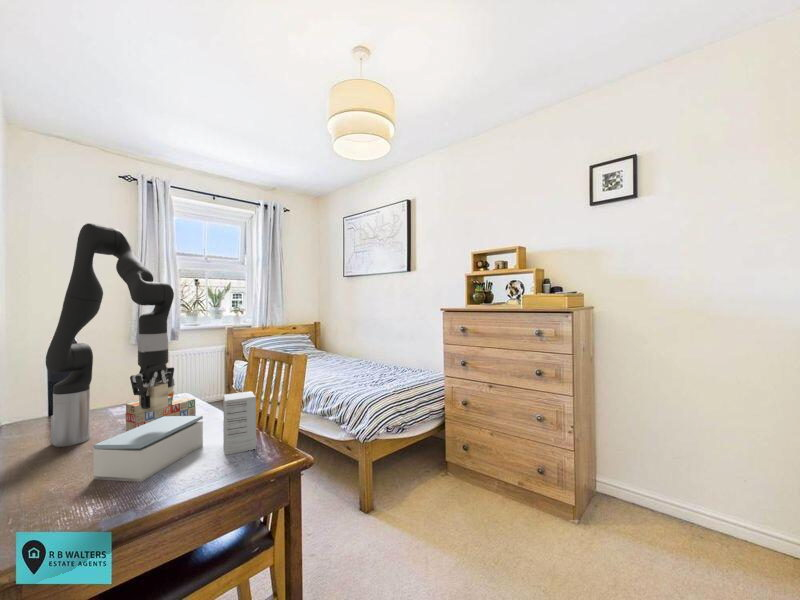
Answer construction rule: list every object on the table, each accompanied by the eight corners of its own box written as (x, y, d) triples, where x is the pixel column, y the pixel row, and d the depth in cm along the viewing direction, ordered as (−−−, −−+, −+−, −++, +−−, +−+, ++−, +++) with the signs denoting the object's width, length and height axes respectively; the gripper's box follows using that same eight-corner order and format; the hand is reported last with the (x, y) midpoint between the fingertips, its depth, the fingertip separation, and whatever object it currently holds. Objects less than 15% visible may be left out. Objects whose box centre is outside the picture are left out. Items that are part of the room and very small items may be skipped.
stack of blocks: (186, 420, 143) (186, 389, 144) (195, 422, 141) (195, 391, 141) (125, 438, 124) (125, 403, 125) (135, 441, 122) (135, 405, 122)
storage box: (93, 479, 95) (93, 449, 95) (164, 443, 119) (164, 419, 119) (140, 482, 93) (140, 451, 93) (202, 445, 117) (202, 421, 117)
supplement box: (256, 449, 114) (256, 396, 114) (224, 455, 109) (224, 400, 109) (253, 439, 122) (252, 390, 122) (223, 445, 117) (222, 393, 118)
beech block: (139, 410, 104) (139, 386, 104) (153, 405, 109) (153, 383, 109) (154, 411, 104) (154, 387, 104) (168, 406, 109) (167, 383, 109)
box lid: (93, 448, 95) (93, 444, 95) (164, 419, 119) (164, 416, 119) (140, 448, 93) (140, 444, 93) (202, 418, 117) (202, 415, 117)
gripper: (161, 345, 114) (161, 398, 114) (120, 351, 100) (120, 412, 100) (182, 345, 113) (182, 399, 113) (144, 352, 99) (144, 413, 99)
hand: (153, 405), depth 106 cm, fingers closed on beech block, 5 cm apart
